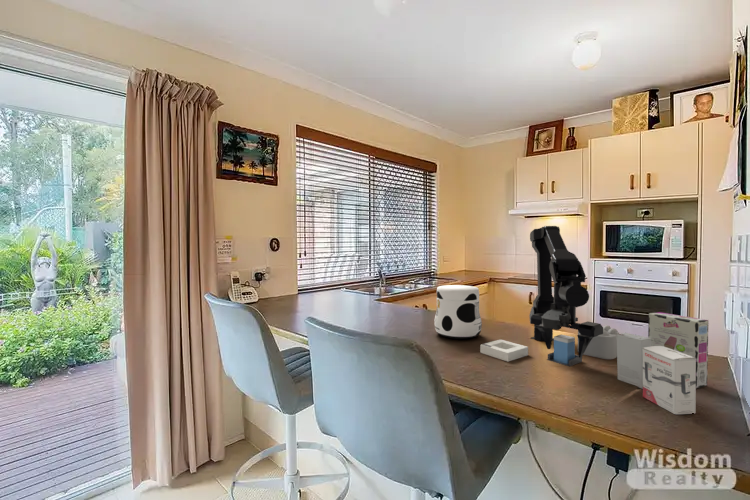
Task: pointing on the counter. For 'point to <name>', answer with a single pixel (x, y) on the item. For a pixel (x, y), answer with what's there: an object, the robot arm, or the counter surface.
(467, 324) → the milk container
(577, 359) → the grey shallow square piece
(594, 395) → the counter surface
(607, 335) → the grey lumpy container
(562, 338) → the plug
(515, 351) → the port
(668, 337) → the candy bar box
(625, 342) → the skincare box
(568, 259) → the robot arm
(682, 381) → the ink box
